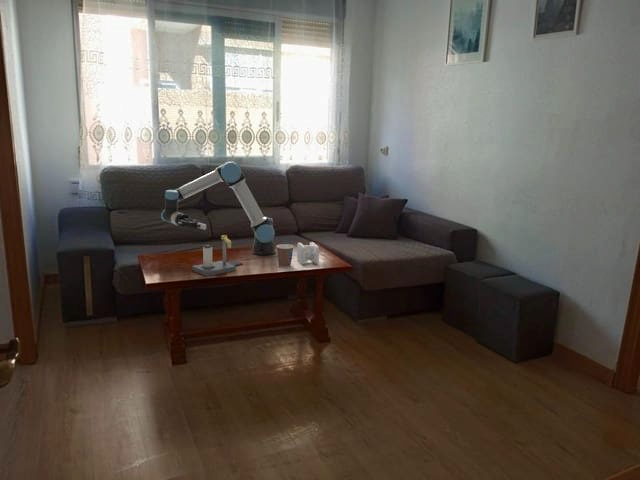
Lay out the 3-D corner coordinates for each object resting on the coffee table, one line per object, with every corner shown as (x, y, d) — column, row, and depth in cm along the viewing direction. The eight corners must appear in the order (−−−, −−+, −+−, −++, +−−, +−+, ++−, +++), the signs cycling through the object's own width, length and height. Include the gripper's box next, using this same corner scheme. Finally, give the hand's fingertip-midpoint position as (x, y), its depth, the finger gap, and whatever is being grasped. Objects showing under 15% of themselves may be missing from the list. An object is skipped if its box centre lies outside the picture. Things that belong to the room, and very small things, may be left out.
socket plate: (220, 264, 301) (220, 236, 297) (235, 270, 290) (235, 241, 287) (192, 270, 288) (191, 240, 284) (206, 276, 277) (206, 245, 274)
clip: (220, 241, 291) (220, 235, 291) (226, 241, 293) (226, 235, 292) (226, 248, 277) (226, 241, 276) (232, 247, 278) (232, 240, 278)
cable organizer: (296, 259, 318) (296, 241, 315) (312, 259, 321) (313, 241, 318) (302, 266, 304) (303, 247, 301) (319, 265, 307) (320, 246, 304)
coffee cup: (290, 268, 298) (291, 248, 295) (273, 267, 299) (274, 247, 297) (295, 264, 307) (295, 244, 305) (278, 262, 309) (279, 243, 307)
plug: (209, 269, 290) (209, 243, 287) (215, 271, 286) (215, 245, 283) (200, 271, 286) (200, 245, 283) (206, 273, 282) (205, 247, 279)
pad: (235, 261, 308) (235, 260, 308) (243, 264, 303) (243, 263, 303) (224, 263, 303) (224, 262, 303) (231, 266, 297) (231, 265, 297)
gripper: (189, 224, 305) (214, 232, 291) (170, 226, 296) (195, 234, 281) (189, 212, 304) (214, 219, 289) (170, 213, 294) (195, 221, 279)
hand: (205, 227), depth 285 cm, fingers closed
